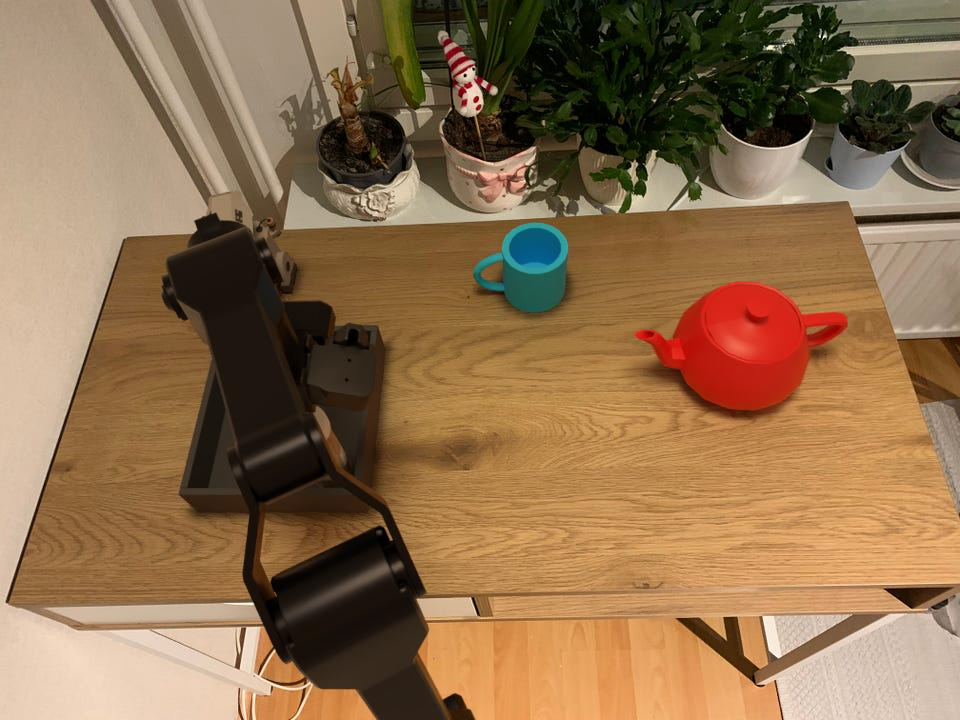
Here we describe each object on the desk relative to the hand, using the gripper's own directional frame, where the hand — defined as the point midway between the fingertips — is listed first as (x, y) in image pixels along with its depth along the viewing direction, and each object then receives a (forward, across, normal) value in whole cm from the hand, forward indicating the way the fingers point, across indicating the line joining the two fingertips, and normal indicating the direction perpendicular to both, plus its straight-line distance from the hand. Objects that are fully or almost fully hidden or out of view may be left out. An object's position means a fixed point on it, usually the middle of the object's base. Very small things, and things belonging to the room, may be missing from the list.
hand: (311, 429), depth 74 cm
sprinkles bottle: (+11, 0, 0) cm, 11 cm away
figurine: (+12, +26, +14) cm, 32 cm away
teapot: (+12, +14, -46) cm, 50 cm away
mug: (+12, +26, -21) cm, 36 cm away
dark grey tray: (+12, +6, +6) cm, 14 cm away
